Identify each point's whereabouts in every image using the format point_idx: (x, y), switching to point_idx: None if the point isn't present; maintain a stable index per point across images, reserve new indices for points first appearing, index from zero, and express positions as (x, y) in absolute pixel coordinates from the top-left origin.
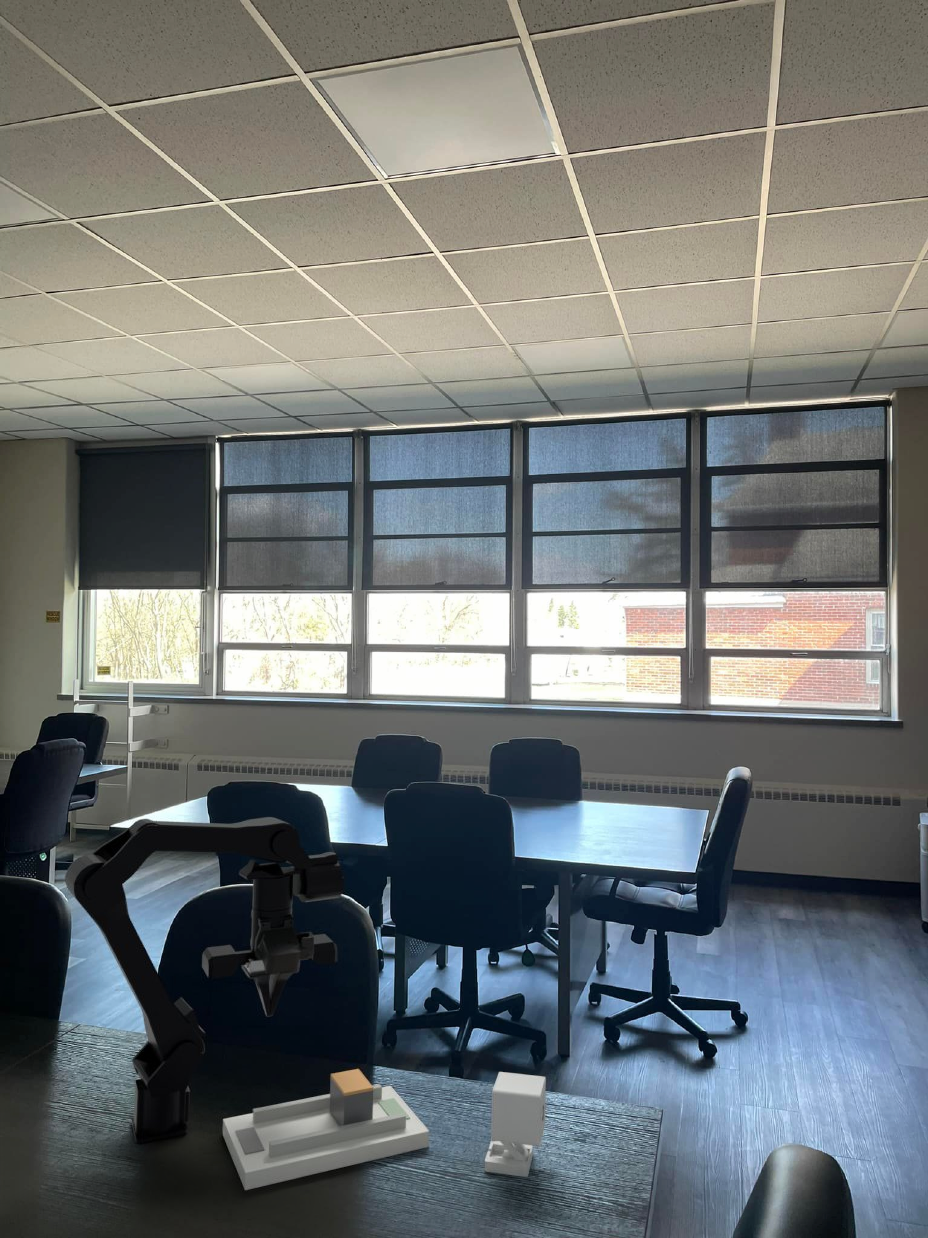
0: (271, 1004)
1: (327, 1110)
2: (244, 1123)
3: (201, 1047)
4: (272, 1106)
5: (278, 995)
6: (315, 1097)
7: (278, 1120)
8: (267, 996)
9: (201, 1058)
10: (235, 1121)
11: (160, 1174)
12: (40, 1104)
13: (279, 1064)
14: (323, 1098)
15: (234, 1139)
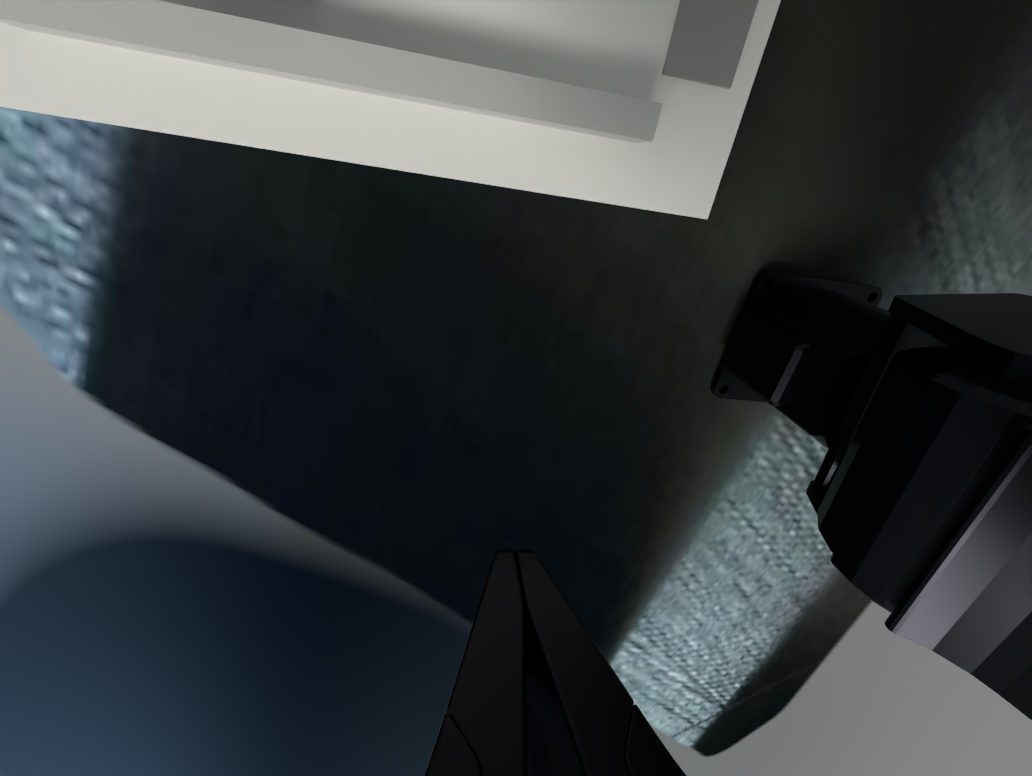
0: (521, 620)
1: (331, 29)
2: (670, 137)
3: (985, 386)
4: (578, 113)
5: (470, 694)
6: (370, 77)
7: (554, 78)
8: (583, 697)
9: (900, 372)
10: (686, 175)
11: (942, 73)
12: None
13: (384, 516)
14: (334, 39)
15: (764, 22)
